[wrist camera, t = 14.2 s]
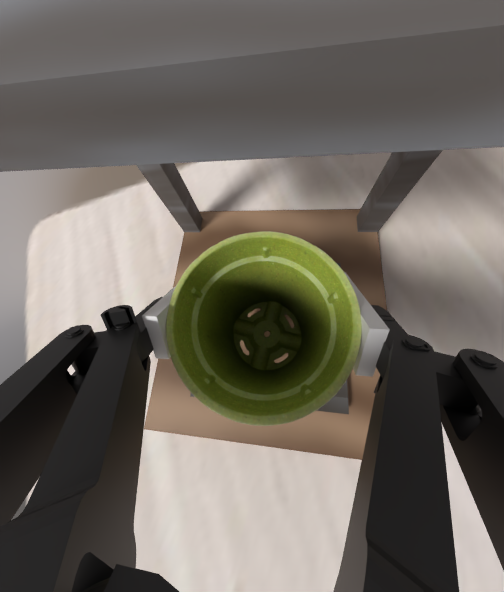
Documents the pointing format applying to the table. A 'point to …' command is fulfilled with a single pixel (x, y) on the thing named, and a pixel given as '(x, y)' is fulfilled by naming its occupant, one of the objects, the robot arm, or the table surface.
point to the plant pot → (264, 328)
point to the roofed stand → (254, 130)
